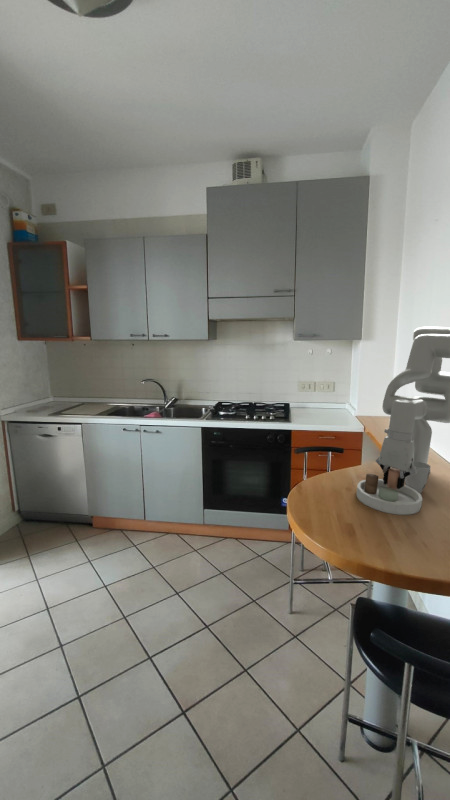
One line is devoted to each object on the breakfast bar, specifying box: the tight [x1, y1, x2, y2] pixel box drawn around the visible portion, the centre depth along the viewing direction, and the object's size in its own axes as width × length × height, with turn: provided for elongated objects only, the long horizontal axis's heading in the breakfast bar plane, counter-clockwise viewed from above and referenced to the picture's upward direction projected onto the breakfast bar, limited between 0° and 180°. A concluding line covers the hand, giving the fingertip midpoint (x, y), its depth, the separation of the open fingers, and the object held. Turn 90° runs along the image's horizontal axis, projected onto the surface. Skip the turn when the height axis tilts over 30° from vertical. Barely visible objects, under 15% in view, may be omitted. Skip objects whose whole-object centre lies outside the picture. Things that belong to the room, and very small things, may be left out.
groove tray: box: [355, 478, 423, 516], centre depth 122 cm, size 20×20×4 cm
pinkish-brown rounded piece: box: [387, 468, 400, 489], centre depth 126 cm, size 4×4×6 cm
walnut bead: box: [364, 473, 380, 494], centre depth 126 cm, size 4×4×6 cm
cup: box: [404, 461, 431, 494], centre depth 131 cm, size 8×8×10 cm
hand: (393, 485), depth 127 cm, fingers closed on pinkish-brown rounded piece, 4 cm apart
